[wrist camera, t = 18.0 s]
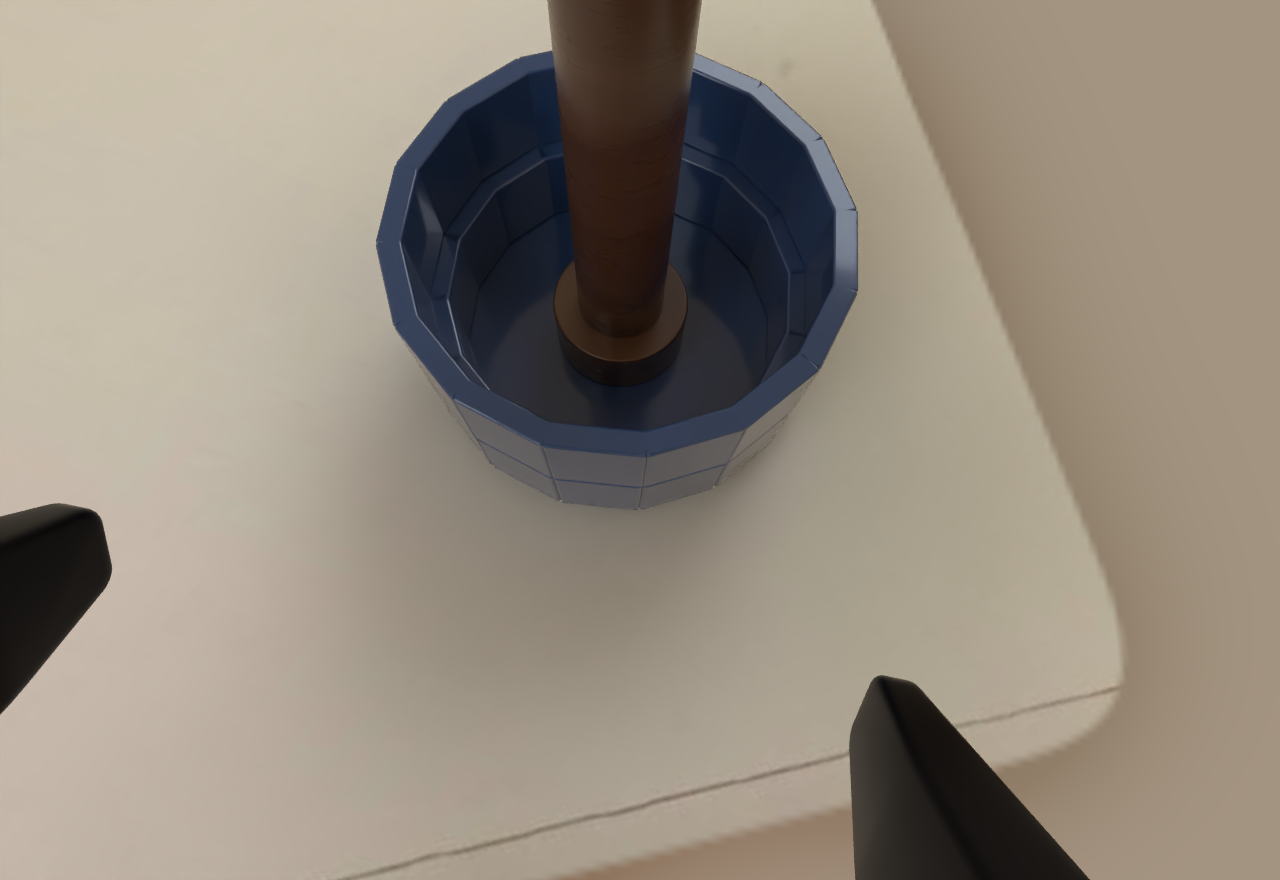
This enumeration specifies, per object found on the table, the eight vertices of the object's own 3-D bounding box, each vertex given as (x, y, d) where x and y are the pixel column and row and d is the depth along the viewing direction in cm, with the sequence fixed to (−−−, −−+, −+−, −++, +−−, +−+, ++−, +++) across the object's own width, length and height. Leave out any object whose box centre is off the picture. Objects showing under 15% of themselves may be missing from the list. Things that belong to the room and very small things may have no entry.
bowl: (791, 531, 17) (859, 478, 12) (409, 493, 17) (328, 425, 12) (800, 208, 20) (857, 64, 15) (474, 175, 20) (429, 21, 15)
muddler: (608, 411, 17) (580, -411, 4) (533, 318, 18) (310, -630, 5) (708, 341, 18) (957, -554, 5) (632, 254, 19) (668, -725, 6)
